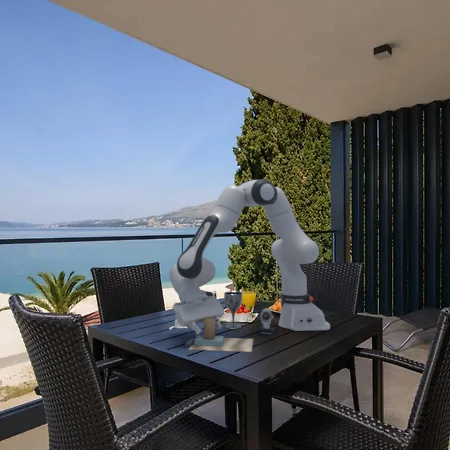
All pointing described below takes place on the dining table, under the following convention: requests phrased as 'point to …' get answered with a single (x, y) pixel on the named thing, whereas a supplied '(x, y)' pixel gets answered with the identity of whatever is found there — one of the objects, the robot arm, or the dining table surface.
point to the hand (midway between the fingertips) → (209, 330)
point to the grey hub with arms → (177, 325)
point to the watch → (266, 322)
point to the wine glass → (233, 305)
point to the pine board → (229, 345)
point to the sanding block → (209, 335)
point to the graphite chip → (190, 342)
